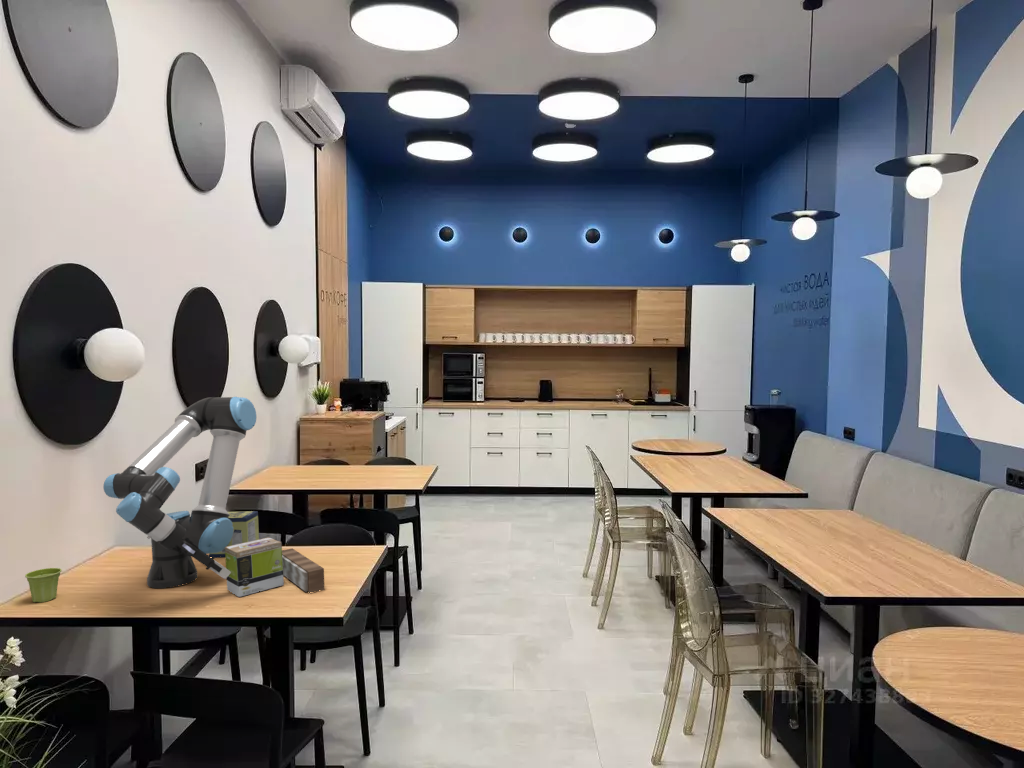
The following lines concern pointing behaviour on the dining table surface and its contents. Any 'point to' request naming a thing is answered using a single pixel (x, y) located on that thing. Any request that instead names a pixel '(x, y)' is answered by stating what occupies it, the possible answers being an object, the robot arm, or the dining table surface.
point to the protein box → (241, 529)
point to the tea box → (254, 566)
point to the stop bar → (302, 571)
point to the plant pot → (43, 584)
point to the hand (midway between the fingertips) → (227, 575)
